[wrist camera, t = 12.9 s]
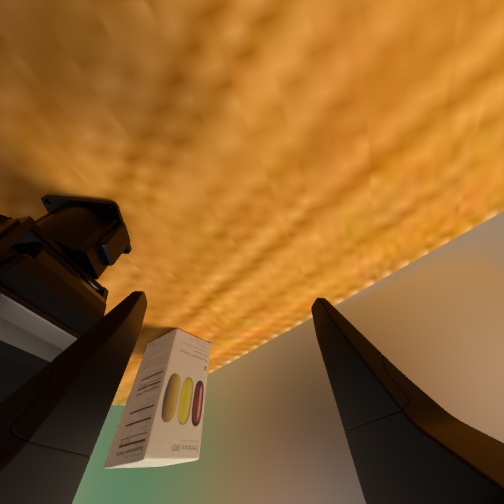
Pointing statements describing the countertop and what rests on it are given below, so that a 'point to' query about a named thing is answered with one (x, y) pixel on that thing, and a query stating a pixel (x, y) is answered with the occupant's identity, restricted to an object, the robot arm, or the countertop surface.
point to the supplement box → (164, 405)
